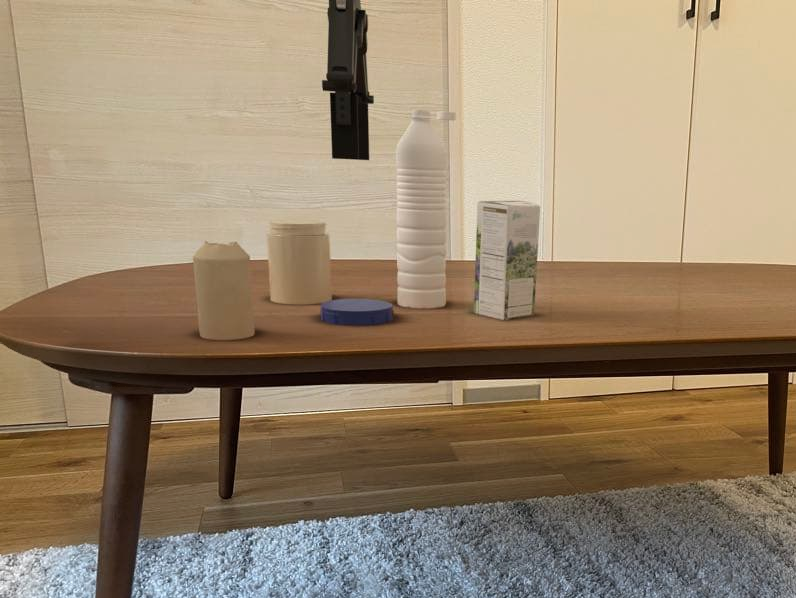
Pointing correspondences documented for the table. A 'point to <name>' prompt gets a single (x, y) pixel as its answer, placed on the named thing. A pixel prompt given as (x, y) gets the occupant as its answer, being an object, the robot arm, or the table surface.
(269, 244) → the jar
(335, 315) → the lid
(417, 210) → the water bottle
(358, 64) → the robot arm
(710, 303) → the table surface
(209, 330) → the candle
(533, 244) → the syrup box
